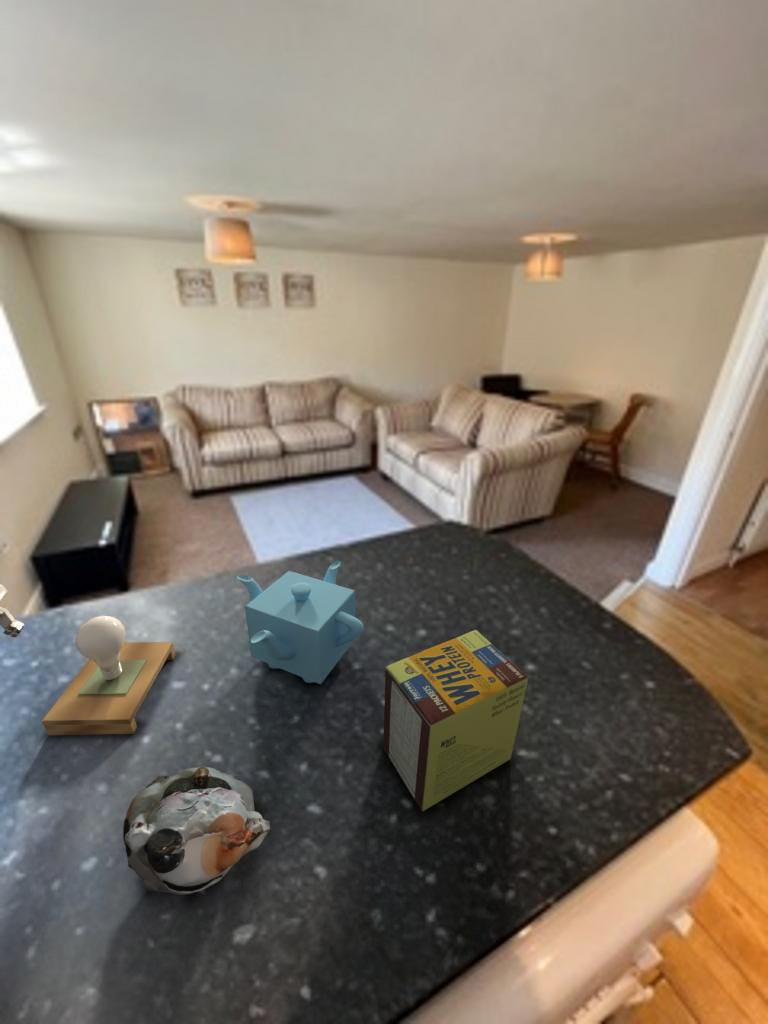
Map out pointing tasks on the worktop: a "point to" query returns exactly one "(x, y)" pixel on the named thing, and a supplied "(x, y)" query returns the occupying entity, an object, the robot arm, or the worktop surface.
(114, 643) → the lightbulb
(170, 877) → the lucky cat figurine
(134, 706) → the shelf
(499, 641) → the worktop surface
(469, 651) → the protein box
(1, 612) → the robot arm
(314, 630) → the teakettle
